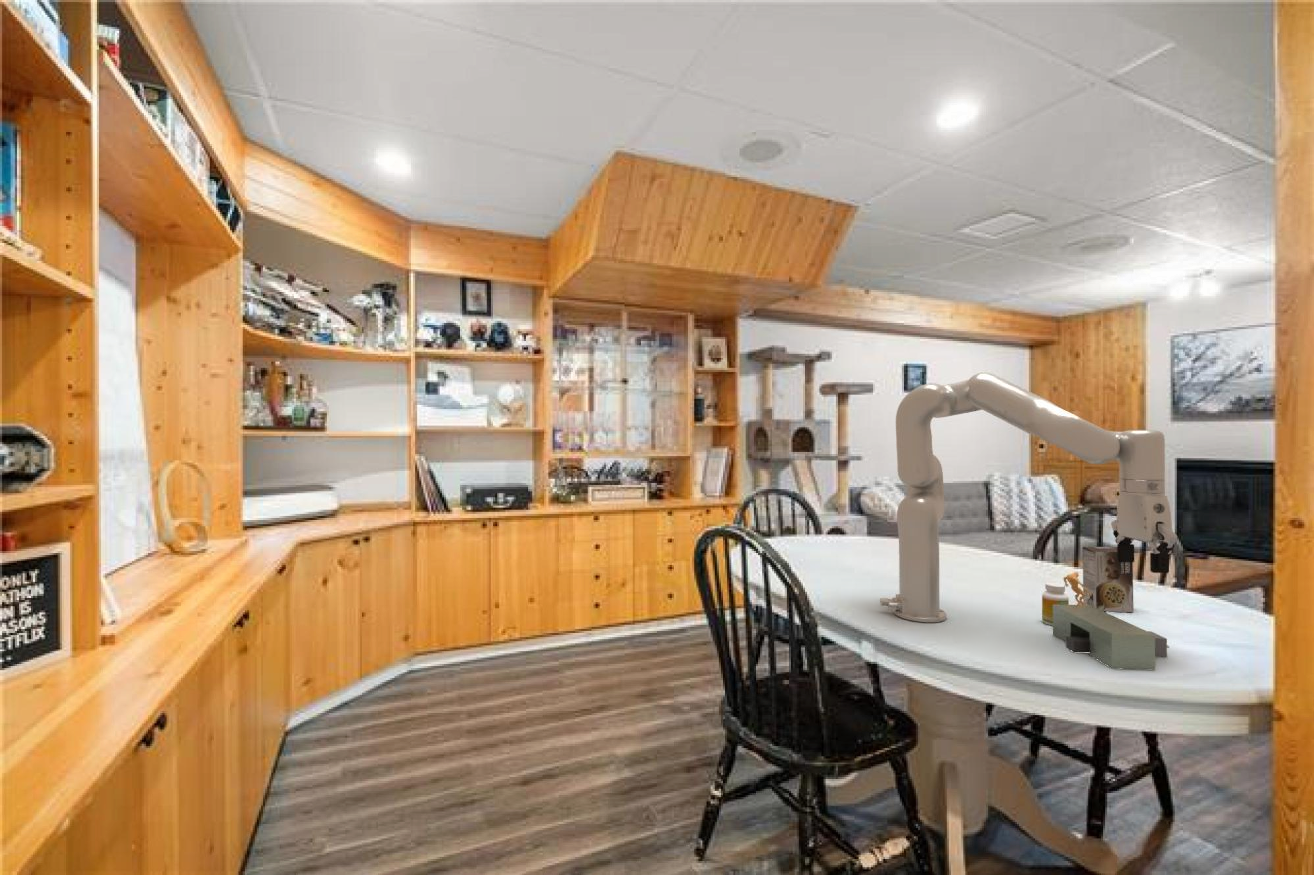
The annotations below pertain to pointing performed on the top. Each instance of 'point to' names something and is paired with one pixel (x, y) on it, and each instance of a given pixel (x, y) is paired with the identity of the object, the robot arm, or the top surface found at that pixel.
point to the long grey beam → (1084, 644)
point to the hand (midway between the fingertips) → (1142, 567)
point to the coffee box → (1107, 580)
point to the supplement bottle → (1052, 600)
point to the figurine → (1076, 586)
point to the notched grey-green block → (1106, 636)
